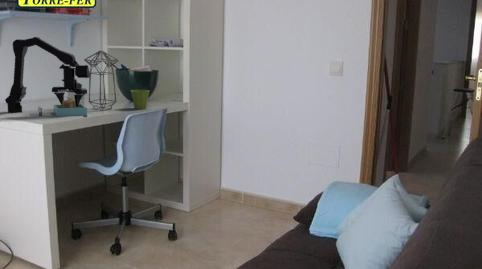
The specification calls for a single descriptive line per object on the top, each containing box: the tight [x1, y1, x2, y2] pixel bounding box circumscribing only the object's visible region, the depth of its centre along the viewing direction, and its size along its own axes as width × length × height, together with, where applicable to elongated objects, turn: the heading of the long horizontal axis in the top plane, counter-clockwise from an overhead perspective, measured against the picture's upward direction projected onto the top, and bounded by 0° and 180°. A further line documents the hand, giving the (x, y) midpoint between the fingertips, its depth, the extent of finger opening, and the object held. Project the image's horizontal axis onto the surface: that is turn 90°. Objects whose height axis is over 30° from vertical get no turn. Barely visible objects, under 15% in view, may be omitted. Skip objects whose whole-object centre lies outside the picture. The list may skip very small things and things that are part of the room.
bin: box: [53, 104, 88, 118], centre depth 260 cm, size 15×15×5 cm
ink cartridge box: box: [66, 92, 85, 106], centre depth 284 cm, size 9×5×15 cm, turn 141°
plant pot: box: [130, 89, 150, 110], centre depth 296 cm, size 12×12×11 cm
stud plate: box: [29, 105, 52, 117], centre depth 253 cm, size 10×10×5 cm
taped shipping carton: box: [62, 99, 77, 108], centre depth 259 cm, size 5×5×7 cm
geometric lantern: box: [83, 50, 119, 111], centre depth 284 cm, size 16×16×35 cm
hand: (69, 106), depth 259 cm, fingers open, 9 cm apart
